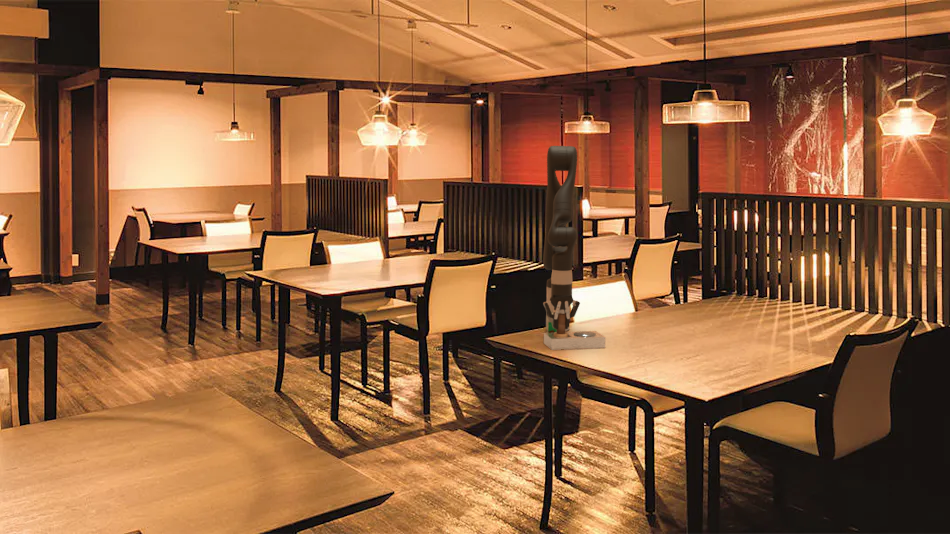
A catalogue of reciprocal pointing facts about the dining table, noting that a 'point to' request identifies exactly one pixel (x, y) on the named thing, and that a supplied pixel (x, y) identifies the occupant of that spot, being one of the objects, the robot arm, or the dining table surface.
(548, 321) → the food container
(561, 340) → the bore block
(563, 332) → the brown wooden peg
